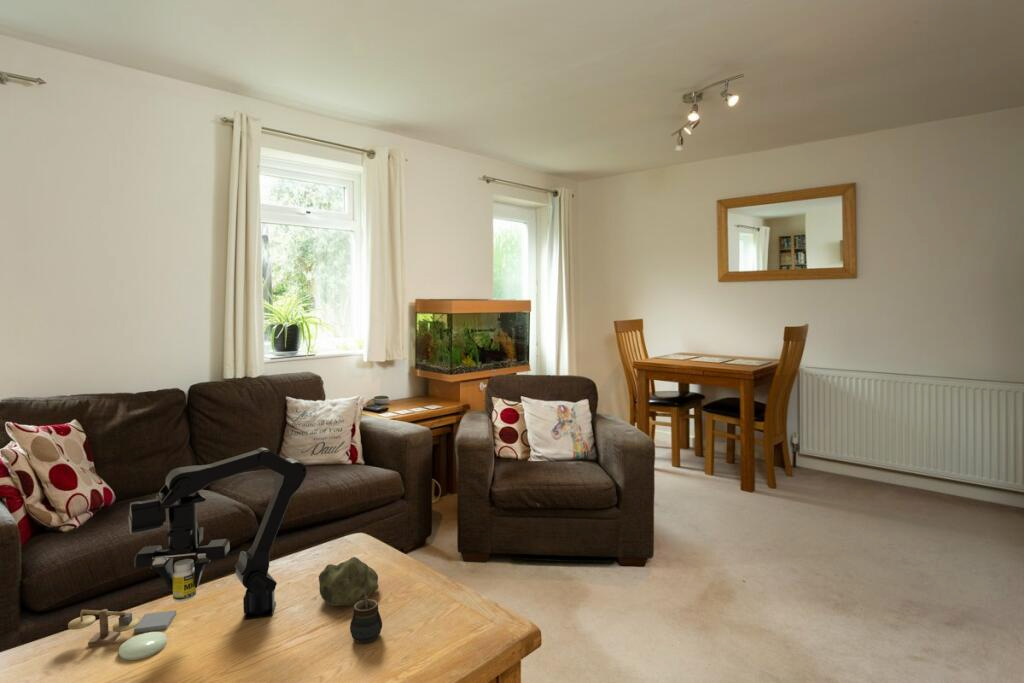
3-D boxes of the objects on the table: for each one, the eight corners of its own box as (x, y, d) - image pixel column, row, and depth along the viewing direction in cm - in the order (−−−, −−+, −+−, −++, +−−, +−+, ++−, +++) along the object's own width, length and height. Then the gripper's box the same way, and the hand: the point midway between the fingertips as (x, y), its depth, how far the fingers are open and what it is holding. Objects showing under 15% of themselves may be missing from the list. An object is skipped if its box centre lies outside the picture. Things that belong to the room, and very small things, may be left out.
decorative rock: (387, 605, 149) (390, 569, 148) (327, 619, 140) (330, 581, 139) (368, 578, 161) (371, 544, 160) (311, 589, 152) (314, 554, 151)
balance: (142, 629, 135) (141, 598, 134) (134, 641, 130) (132, 608, 129) (75, 638, 131) (74, 606, 131) (64, 650, 126) (62, 617, 126)
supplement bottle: (185, 603, 129) (184, 567, 128) (168, 601, 130) (166, 565, 129) (201, 593, 133) (199, 558, 133) (184, 591, 134) (182, 557, 134)
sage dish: (172, 634, 133) (171, 629, 133) (158, 656, 124) (158, 651, 124) (128, 640, 130) (128, 635, 130) (111, 663, 122) (111, 657, 122)
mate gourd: (353, 650, 126) (352, 607, 125) (347, 634, 132) (346, 592, 132) (385, 641, 129) (384, 599, 129) (377, 626, 136) (376, 585, 135)
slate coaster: (176, 613, 142) (176, 609, 142) (167, 628, 135) (166, 624, 135) (145, 617, 140) (145, 613, 140) (134, 633, 133) (133, 628, 133)
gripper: (234, 508, 141) (235, 568, 142) (150, 515, 136) (152, 577, 137) (223, 523, 130) (225, 589, 131) (131, 532, 125) (134, 600, 126)
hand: (184, 588), depth 131 cm, fingers closed on supplement bottle, 5 cm apart
